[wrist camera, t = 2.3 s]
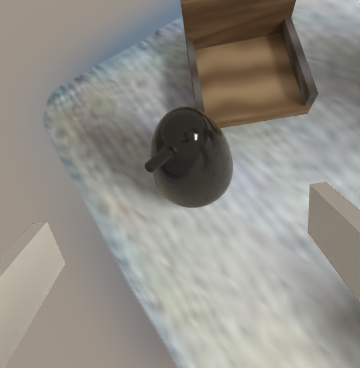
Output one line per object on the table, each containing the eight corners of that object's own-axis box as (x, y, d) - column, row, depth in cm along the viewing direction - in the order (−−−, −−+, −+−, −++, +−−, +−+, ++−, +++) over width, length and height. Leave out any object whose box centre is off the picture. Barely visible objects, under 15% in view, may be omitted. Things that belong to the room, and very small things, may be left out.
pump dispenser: (145, 187, 39) (103, 134, 25) (189, 135, 41) (174, 59, 27) (200, 230, 36) (189, 198, 22) (245, 172, 38) (262, 107, 24)
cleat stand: (307, 113, 40) (335, 61, 30) (199, 131, 41) (194, 87, 32) (282, 37, 45) (299, -27, 35) (187, 55, 46) (180, -2, 37)
